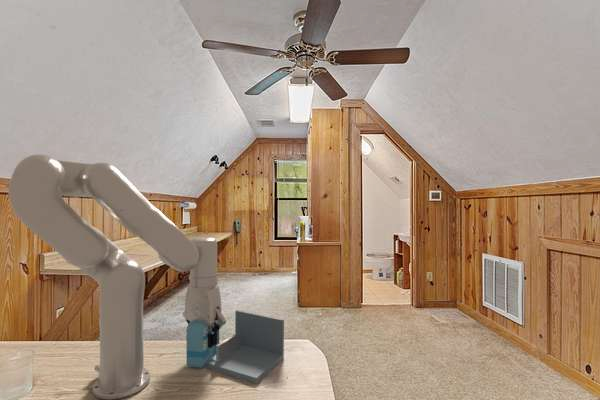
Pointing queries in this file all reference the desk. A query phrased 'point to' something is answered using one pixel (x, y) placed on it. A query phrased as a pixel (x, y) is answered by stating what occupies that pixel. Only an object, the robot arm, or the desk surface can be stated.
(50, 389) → the desk surface
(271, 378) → the desk surface
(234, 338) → the bookend
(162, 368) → the desk surface
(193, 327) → the data package
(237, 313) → the l-shaped stand
